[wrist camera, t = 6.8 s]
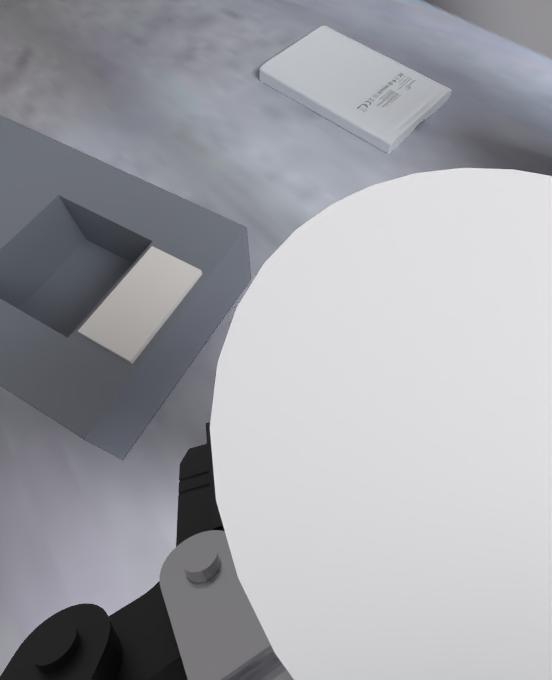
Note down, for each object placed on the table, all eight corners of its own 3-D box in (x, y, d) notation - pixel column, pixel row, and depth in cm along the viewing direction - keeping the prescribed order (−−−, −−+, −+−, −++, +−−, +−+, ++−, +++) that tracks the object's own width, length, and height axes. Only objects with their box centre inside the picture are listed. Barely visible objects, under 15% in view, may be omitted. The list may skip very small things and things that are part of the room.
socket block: (-194, 258, 25) (-291, 199, 21) (-38, 139, 29) (-91, 70, 25) (122, 459, 20) (81, 437, 16) (251, 279, 24) (246, 223, 20)
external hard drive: (322, 43, 36) (446, 106, 32) (259, 87, 33) (386, 160, 30) (325, 22, 34) (454, 85, 31) (258, 66, 32) (392, 141, 28)
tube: (244, 503, 16) (92, 344, 3) (328, 439, 17) (506, 101, 4) (311, 606, 15) (661, 1306, 1) (398, 529, 16) (1074, 485, 2)
